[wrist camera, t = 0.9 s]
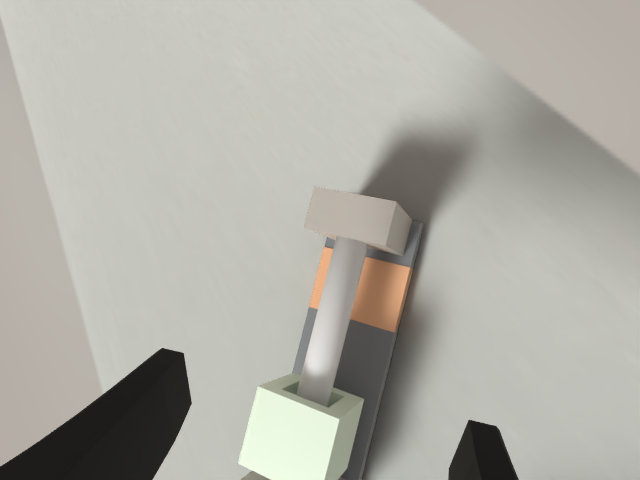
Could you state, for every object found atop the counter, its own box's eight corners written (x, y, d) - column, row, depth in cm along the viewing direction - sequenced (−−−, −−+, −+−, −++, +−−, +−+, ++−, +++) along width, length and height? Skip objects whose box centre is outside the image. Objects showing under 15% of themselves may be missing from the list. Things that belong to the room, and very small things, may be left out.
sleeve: (347, 468, 21) (318, 503, 17) (277, 437, 23) (237, 463, 19) (364, 399, 21) (339, 419, 18) (294, 372, 23) (257, 386, 19)
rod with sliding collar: (353, 514, 23) (315, 575, 18) (272, 474, 24) (217, 520, 19) (423, 224, 23) (407, 203, 18) (340, 208, 25) (304, 184, 20)
